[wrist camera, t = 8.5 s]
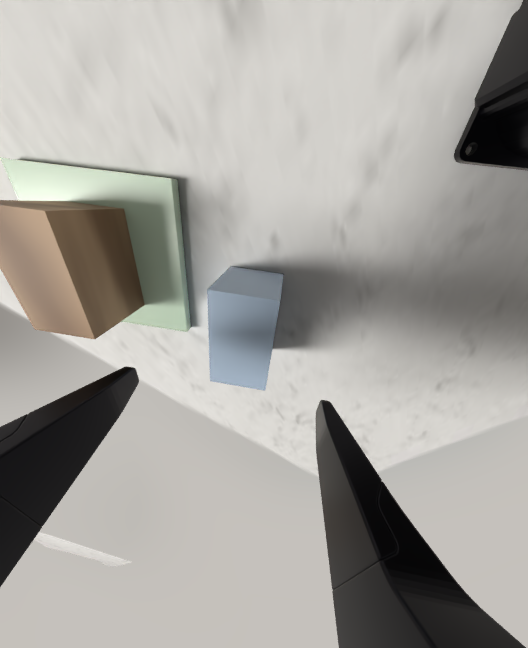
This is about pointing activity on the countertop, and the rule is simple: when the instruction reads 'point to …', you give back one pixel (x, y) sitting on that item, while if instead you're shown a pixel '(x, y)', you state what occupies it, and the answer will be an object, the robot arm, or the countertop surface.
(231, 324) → the slate brick
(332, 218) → the countertop surface
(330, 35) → the countertop surface
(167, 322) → the baseplate
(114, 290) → the walnut brick
